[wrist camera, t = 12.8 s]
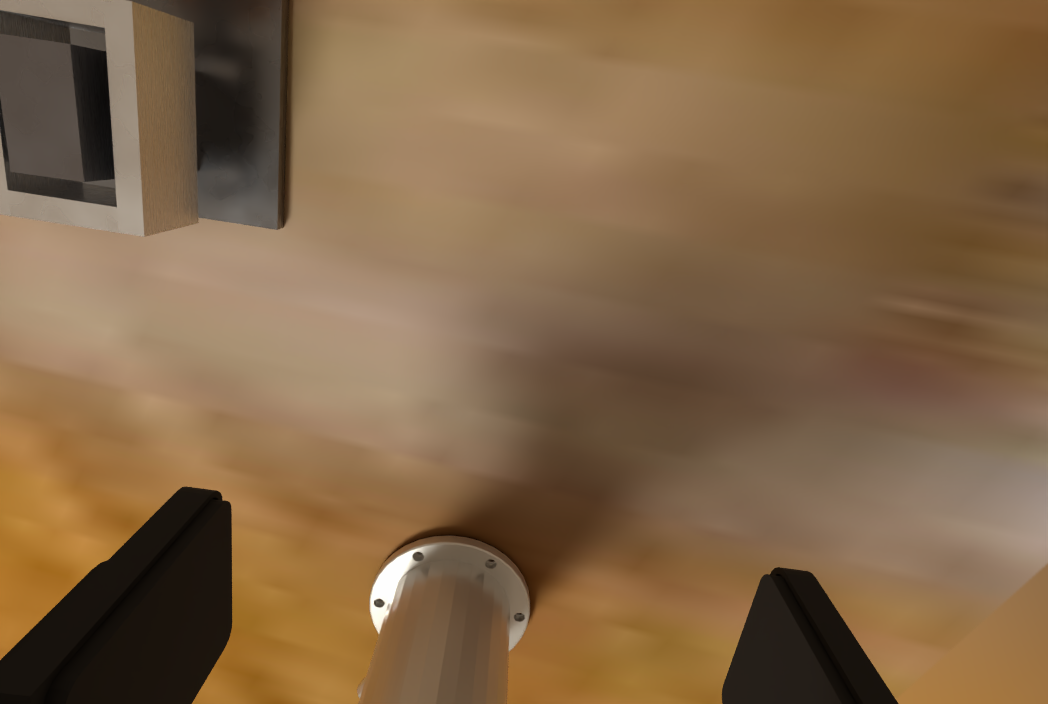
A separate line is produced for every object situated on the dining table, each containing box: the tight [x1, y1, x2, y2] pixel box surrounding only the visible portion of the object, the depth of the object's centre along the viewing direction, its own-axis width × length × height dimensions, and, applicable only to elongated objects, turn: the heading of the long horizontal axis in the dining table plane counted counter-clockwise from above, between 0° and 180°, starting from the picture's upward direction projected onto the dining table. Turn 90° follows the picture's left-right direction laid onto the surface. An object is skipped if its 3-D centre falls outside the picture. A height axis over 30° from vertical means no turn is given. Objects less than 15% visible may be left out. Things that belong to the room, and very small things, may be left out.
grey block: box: [0, 34, 199, 182], centre depth 31 cm, size 6×3×10 cm, turn 172°
